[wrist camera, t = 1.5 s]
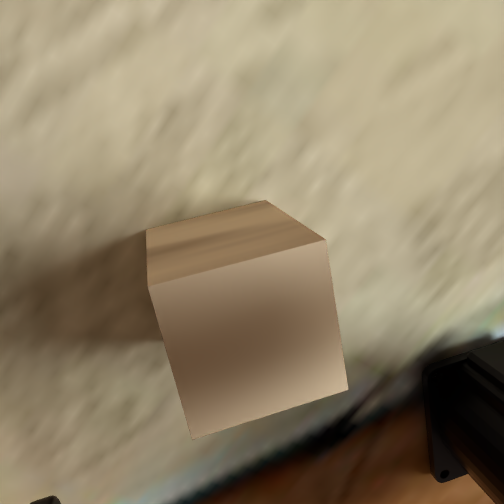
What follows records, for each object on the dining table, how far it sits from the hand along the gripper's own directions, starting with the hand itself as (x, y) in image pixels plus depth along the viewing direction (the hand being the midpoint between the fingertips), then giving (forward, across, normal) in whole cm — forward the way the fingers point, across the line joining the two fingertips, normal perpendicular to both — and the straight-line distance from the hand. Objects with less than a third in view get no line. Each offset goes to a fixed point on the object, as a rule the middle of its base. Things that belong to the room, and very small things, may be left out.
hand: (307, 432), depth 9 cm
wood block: (+10, 0, 0) cm, 10 cm away
